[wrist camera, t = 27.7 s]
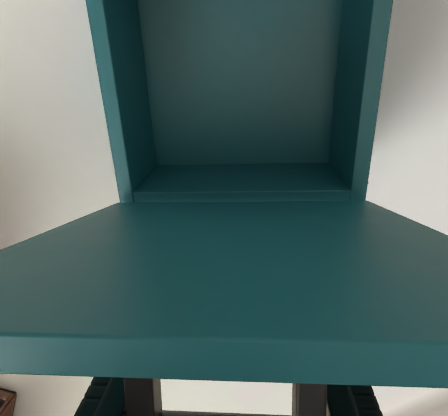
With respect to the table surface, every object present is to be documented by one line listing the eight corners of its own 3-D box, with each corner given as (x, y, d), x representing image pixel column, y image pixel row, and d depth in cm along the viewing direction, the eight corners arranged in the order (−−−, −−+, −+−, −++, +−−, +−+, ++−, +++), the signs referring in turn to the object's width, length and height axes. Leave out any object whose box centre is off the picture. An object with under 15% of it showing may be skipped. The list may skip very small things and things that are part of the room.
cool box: (124, -31, 22) (72, -70, 15) (357, -46, 21) (406, -95, 14) (150, 173, 27) (120, 206, 21) (336, 170, 26) (364, 204, 20)
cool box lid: (-199, 328, 6) (-138, 569, 7) (716, 349, 5) (645, 635, 6) (117, 202, 20) (123, 286, 21) (367, 200, 19) (363, 289, 20)
